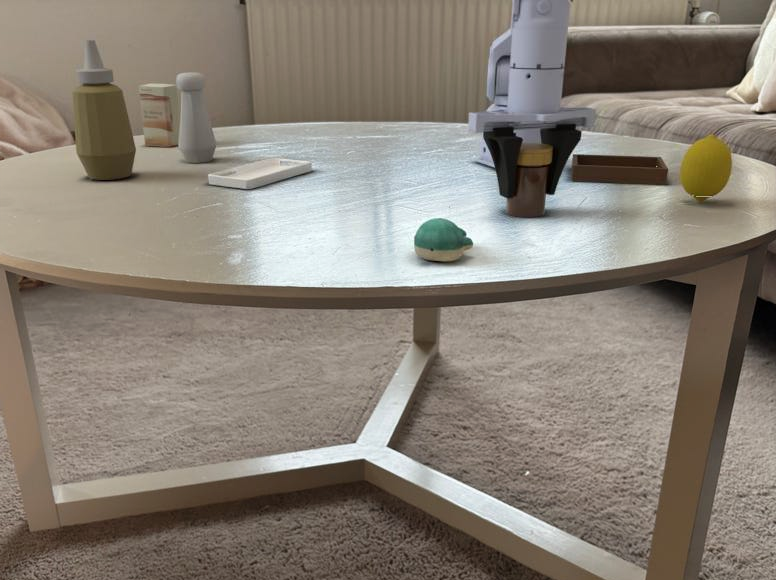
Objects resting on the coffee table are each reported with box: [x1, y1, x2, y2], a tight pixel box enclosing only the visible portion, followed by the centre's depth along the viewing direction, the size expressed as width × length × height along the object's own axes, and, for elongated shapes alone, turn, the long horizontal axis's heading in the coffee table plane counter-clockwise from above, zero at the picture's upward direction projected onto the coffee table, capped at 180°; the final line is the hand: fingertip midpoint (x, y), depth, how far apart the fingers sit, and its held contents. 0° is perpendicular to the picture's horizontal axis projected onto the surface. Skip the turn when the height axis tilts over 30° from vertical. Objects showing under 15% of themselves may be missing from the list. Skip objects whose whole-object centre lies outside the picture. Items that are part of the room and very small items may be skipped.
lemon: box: [679, 134, 733, 204], centre depth 90 cm, size 6×6×8 cm
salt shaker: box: [175, 71, 217, 164], centre depth 117 cm, size 6×6×13 cm
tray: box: [571, 153, 669, 186], centre depth 106 cm, size 12×9×2 cm
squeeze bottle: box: [72, 39, 137, 181], centre depth 105 cm, size 8×8×18 cm
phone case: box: [207, 157, 313, 190], centre depth 107 cm, size 7×1×15 cm
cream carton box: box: [138, 82, 180, 148], centre depth 132 cm, size 5×4×10 cm
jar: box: [505, 164, 549, 218], centre depth 86 cm, size 4×4×7 cm
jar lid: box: [517, 143, 553, 166], centre depth 85 cm, size 5×5×2 cm
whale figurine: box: [413, 217, 474, 262], centre depth 72 cm, size 6×7×4 cm
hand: (526, 194), depth 87 cm, fingers closed on jar lid, 5 cm apart
